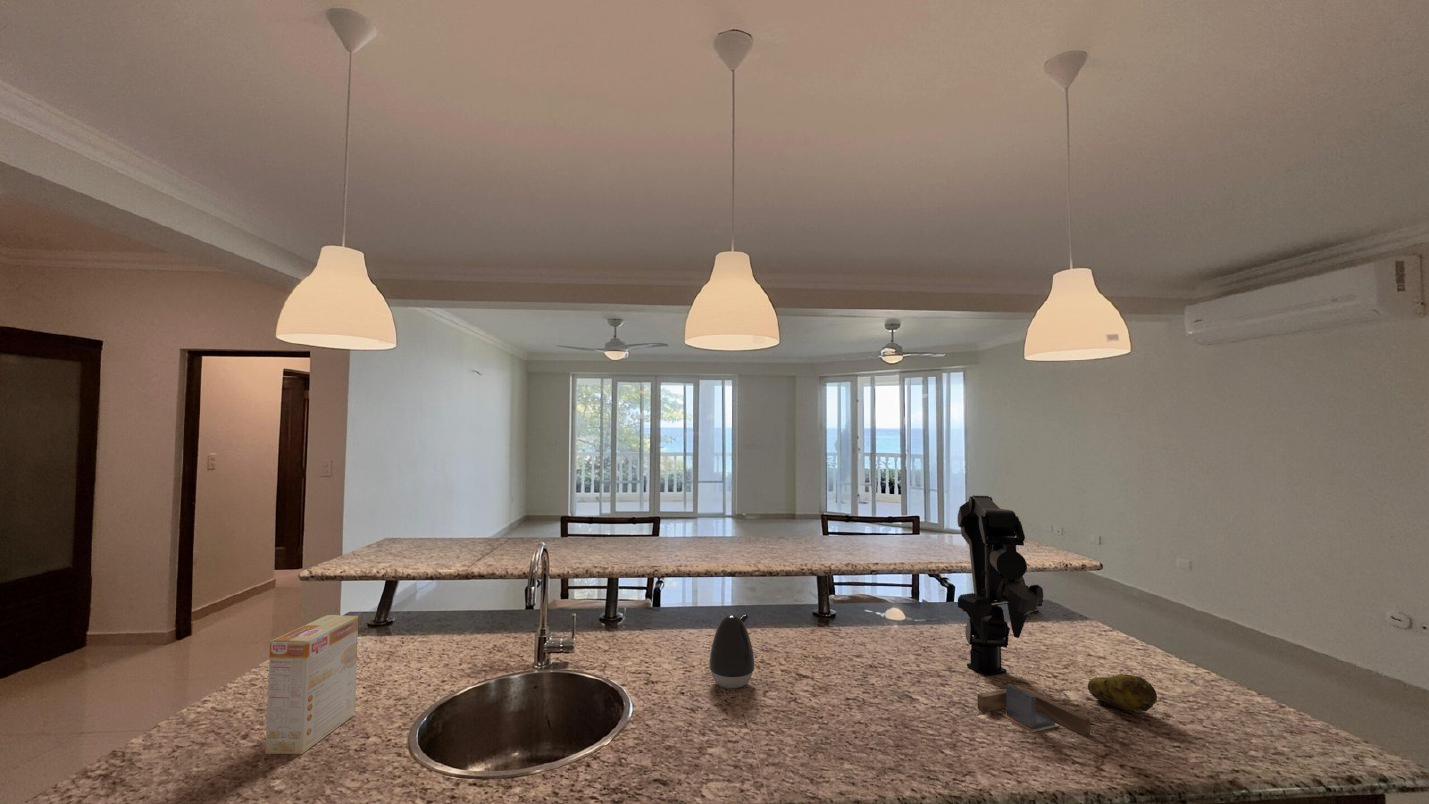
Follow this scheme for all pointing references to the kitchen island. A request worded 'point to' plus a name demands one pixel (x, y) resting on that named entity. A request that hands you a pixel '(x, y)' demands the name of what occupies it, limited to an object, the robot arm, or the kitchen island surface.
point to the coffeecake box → (311, 683)
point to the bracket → (1025, 709)
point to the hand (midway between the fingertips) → (1000, 640)
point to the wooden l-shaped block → (1043, 705)
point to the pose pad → (1029, 728)
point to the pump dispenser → (732, 653)
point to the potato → (1124, 692)
